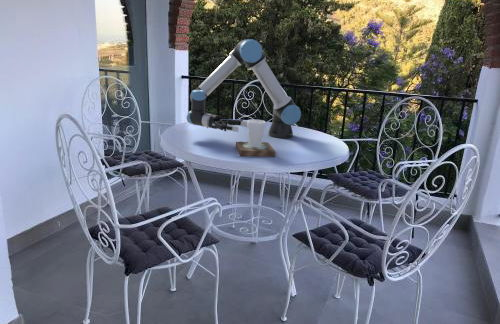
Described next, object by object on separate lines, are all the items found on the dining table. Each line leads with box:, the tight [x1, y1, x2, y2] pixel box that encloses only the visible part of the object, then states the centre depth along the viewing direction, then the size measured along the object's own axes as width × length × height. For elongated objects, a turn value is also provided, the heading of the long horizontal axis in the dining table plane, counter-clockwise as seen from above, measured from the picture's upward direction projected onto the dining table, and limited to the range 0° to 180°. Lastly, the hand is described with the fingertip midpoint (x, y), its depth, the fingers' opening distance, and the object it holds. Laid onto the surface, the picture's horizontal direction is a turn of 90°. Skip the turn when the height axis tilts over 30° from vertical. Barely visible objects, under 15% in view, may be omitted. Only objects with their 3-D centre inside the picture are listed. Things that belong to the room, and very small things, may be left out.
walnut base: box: [235, 141, 276, 158], centre depth 215 cm, size 18×18×3 cm
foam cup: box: [246, 119, 266, 147], centre depth 213 cm, size 10×9×13 cm
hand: (245, 127), depth 215 cm, fingers open, 13 cm apart
